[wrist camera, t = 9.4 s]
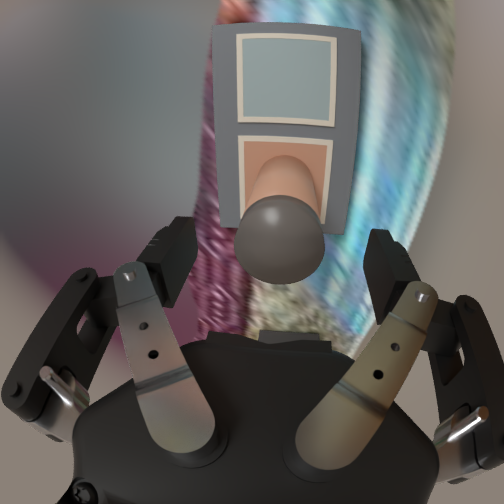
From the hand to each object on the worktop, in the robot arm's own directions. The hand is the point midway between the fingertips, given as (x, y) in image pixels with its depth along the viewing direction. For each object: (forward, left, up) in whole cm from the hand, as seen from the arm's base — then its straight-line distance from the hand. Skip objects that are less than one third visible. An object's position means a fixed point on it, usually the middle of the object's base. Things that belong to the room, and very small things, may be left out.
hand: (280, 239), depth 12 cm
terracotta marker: (0, 0, -9) cm, 9 cm away
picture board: (-3, +2, -10) cm, 10 cm away
